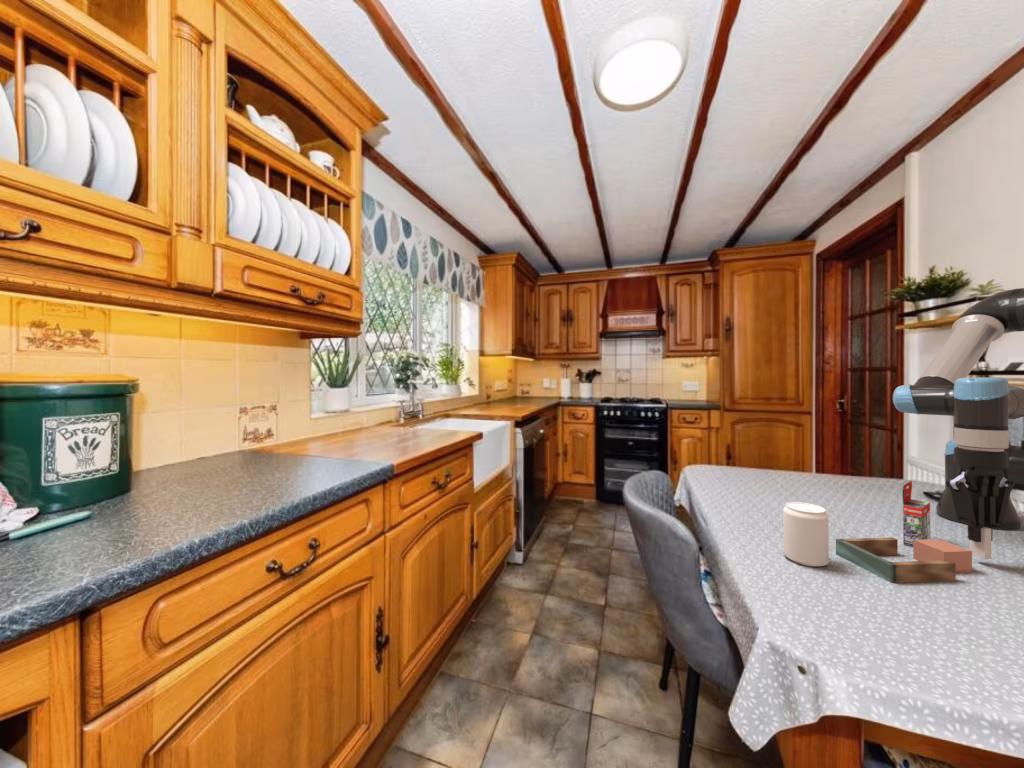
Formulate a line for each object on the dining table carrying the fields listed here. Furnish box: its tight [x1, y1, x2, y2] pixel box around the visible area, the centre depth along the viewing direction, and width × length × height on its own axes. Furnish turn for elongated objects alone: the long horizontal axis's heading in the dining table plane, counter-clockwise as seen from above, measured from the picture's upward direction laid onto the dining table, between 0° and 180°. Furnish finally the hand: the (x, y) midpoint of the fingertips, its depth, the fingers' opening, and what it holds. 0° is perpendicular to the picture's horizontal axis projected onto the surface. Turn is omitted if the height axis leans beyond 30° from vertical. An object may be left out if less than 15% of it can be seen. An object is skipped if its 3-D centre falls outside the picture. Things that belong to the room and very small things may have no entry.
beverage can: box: [782, 501, 830, 568], centre depth 86 cm, size 8×8×12 cm
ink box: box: [901, 480, 932, 548], centre depth 94 cm, size 4×8×15 cm, turn 123°
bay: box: [835, 537, 957, 583], centre depth 82 cm, size 14×12×4 cm
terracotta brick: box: [912, 538, 973, 573], centre depth 83 cm, size 6×6×4 cm
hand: (980, 555), depth 83 cm, fingers closed
